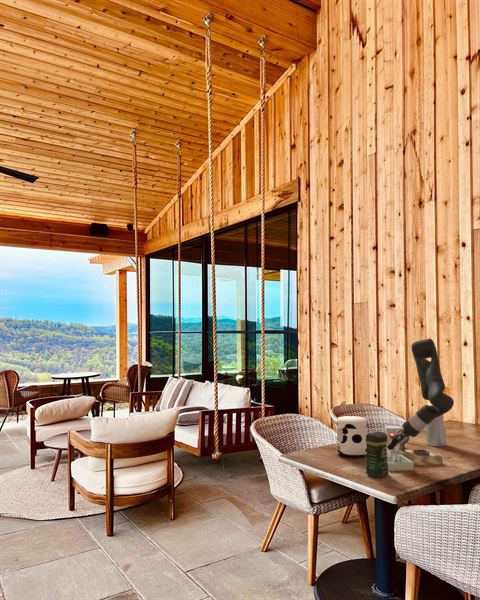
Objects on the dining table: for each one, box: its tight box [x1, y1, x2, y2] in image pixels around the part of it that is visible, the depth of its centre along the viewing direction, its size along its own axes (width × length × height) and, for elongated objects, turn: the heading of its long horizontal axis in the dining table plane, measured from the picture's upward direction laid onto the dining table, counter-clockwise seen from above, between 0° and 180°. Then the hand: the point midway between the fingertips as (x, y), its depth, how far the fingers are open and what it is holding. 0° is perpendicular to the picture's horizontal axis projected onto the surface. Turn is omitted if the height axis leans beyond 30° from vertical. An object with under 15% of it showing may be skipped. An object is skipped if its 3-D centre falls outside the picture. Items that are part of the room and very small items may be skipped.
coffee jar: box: [365, 430, 389, 479], centre depth 201 cm, size 10×8×19 cm
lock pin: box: [389, 433, 400, 462], centre depth 213 cm, size 5×5×13 cm
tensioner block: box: [395, 428, 443, 466], centre depth 221 cm, size 18×12×14 cm, turn 96°
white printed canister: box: [335, 415, 369, 458], centre depth 235 cm, size 17×17×18 cm
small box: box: [384, 425, 402, 449], centre depth 249 cm, size 8×6×10 cm
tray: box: [387, 455, 415, 472], centre depth 213 cm, size 12×12×3 cm
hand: (390, 447), depth 214 cm, fingers open, 4 cm apart
